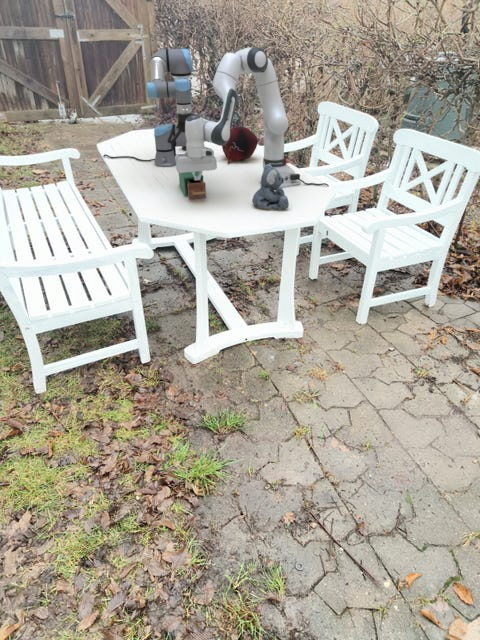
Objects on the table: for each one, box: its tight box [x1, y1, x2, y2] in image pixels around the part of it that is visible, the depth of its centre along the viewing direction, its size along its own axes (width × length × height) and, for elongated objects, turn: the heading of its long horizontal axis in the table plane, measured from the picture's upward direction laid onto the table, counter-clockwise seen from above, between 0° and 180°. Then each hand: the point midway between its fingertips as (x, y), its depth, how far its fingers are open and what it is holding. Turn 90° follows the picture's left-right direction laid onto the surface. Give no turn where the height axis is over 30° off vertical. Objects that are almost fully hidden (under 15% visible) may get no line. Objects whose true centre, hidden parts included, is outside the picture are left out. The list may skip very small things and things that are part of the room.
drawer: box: [186, 179, 207, 200], centre depth 239 cm, size 24×9×8 cm, turn 15°
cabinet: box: [178, 171, 204, 197], centre depth 248 cm, size 19×10×10 cm, turn 15°
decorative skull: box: [221, 126, 259, 165], centre depth 296 cm, size 21×24×25 cm
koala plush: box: [251, 164, 290, 211], centre depth 224 cm, size 17×18×20 cm
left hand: (187, 155), depth 245 cm, fingers open, 13 cm apart
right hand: (197, 179), depth 227 cm, fingers closed
